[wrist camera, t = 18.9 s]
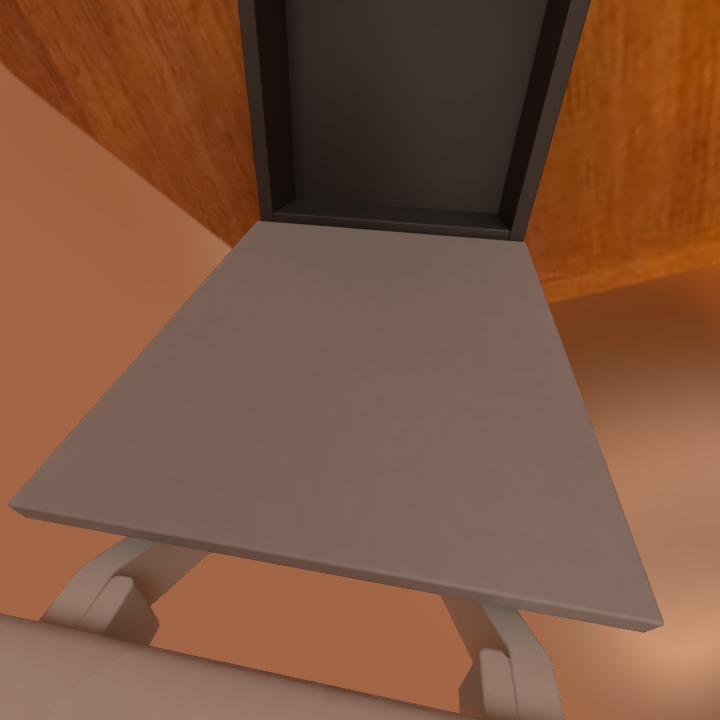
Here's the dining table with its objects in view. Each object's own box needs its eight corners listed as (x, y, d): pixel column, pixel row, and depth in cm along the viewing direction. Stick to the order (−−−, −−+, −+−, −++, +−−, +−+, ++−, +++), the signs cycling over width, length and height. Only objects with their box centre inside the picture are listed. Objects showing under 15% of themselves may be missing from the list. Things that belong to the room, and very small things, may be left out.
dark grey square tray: (265, -156, 15) (210, -251, 11) (602, -169, 14) (670, -283, 10) (289, 208, 23) (261, 225, 19) (505, 224, 22) (521, 246, 18)
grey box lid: (4, 504, 8) (106, 572, 11) (667, 626, 6) (562, 664, 10) (256, 220, 19) (271, 296, 22) (526, 241, 17) (498, 320, 21)
